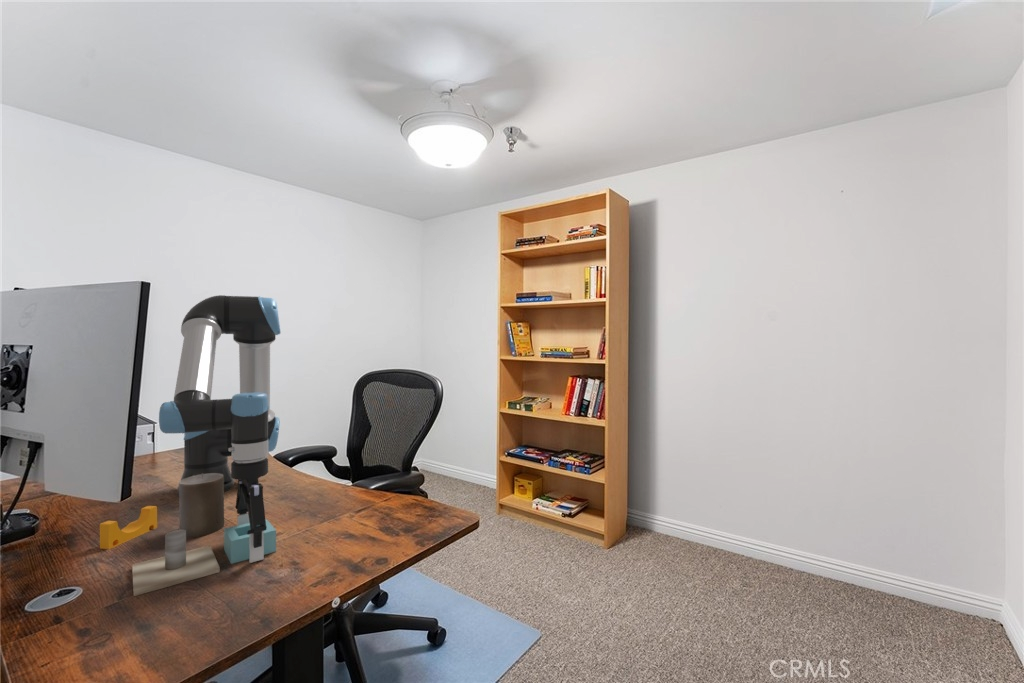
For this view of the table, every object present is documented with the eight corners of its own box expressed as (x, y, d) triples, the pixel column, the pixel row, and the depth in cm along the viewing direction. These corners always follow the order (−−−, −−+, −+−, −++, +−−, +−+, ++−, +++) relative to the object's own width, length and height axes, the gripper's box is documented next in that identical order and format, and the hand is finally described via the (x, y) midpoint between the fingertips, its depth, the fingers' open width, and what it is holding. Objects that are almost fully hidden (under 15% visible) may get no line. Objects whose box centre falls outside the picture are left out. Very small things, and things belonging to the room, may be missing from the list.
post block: (132, 569, 97) (132, 531, 97) (209, 549, 106) (209, 515, 106) (133, 596, 87) (133, 554, 87) (219, 572, 96) (219, 534, 96)
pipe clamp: (143, 530, 118) (142, 505, 118) (157, 531, 117) (157, 506, 118) (93, 550, 106) (93, 523, 106) (108, 552, 106) (108, 524, 106)
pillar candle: (232, 527, 119) (232, 471, 119) (191, 542, 110) (191, 481, 110) (211, 521, 123) (211, 466, 124) (170, 534, 115) (170, 475, 115)
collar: (224, 549, 106) (224, 528, 106) (266, 539, 112) (266, 518, 112) (231, 563, 99) (231, 541, 99) (276, 551, 105) (276, 530, 105)
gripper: (222, 452, 113) (222, 537, 112) (242, 473, 94) (242, 575, 94) (256, 447, 118) (256, 529, 117) (281, 466, 99) (281, 564, 99)
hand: (249, 550), depth 105 cm, fingers open, 13 cm apart
